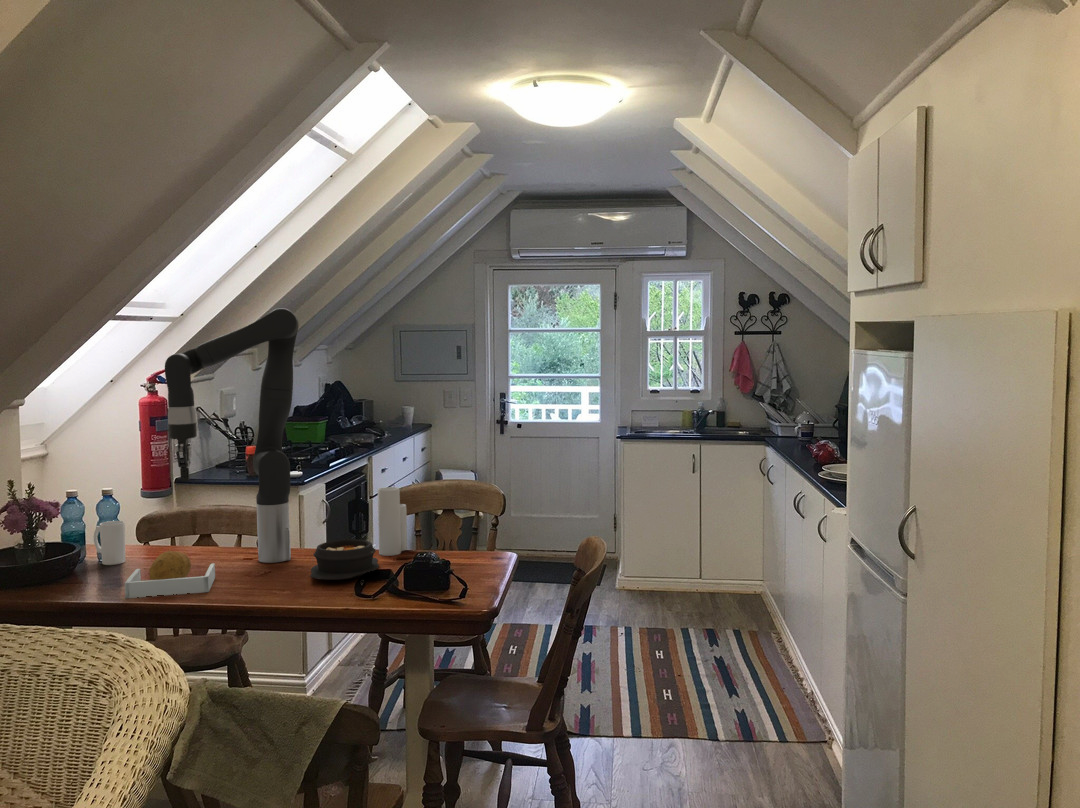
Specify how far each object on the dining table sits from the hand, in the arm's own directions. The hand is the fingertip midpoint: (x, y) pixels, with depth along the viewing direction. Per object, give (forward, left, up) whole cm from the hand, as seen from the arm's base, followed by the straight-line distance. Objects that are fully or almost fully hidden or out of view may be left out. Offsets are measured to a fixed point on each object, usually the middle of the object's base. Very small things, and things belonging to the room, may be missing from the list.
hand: (185, 480), depth 254 cm
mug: (+24, -10, -25) cm, 36 cm away
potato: (+1, +24, -25) cm, 35 cm away
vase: (-59, +2, -25) cm, 65 cm away
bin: (+1, +27, -25) cm, 36 cm away
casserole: (-44, +26, -25) cm, 57 cm away
